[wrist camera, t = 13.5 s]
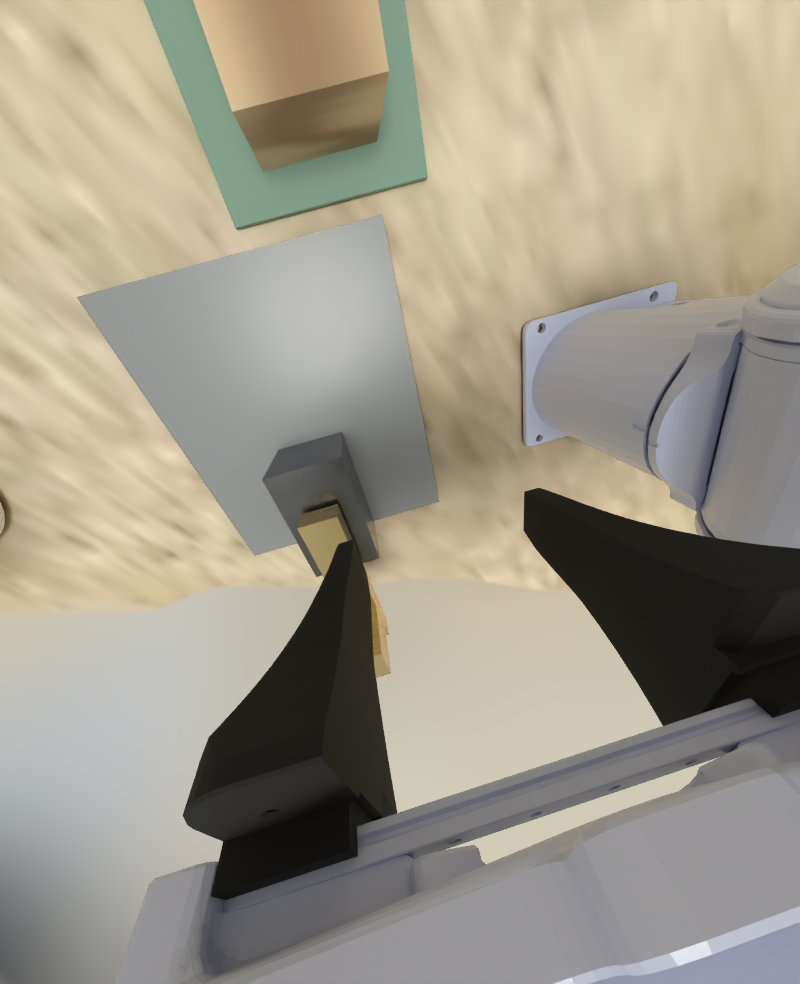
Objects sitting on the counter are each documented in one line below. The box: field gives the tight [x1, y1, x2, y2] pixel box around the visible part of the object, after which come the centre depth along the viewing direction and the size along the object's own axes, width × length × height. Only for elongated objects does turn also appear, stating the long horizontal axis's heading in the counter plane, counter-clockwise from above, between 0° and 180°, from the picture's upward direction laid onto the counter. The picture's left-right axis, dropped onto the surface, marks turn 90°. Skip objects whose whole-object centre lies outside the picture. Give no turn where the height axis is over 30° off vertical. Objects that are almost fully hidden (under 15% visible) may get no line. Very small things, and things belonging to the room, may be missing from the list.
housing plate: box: [77, 215, 439, 577], centre depth 16 cm, size 14×16×5 cm
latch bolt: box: [297, 504, 391, 678], centre depth 16 cm, size 2×10×4 cm, turn 13°
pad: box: [144, 0, 428, 230], centre depth 11 cm, size 9×9×1 cm
